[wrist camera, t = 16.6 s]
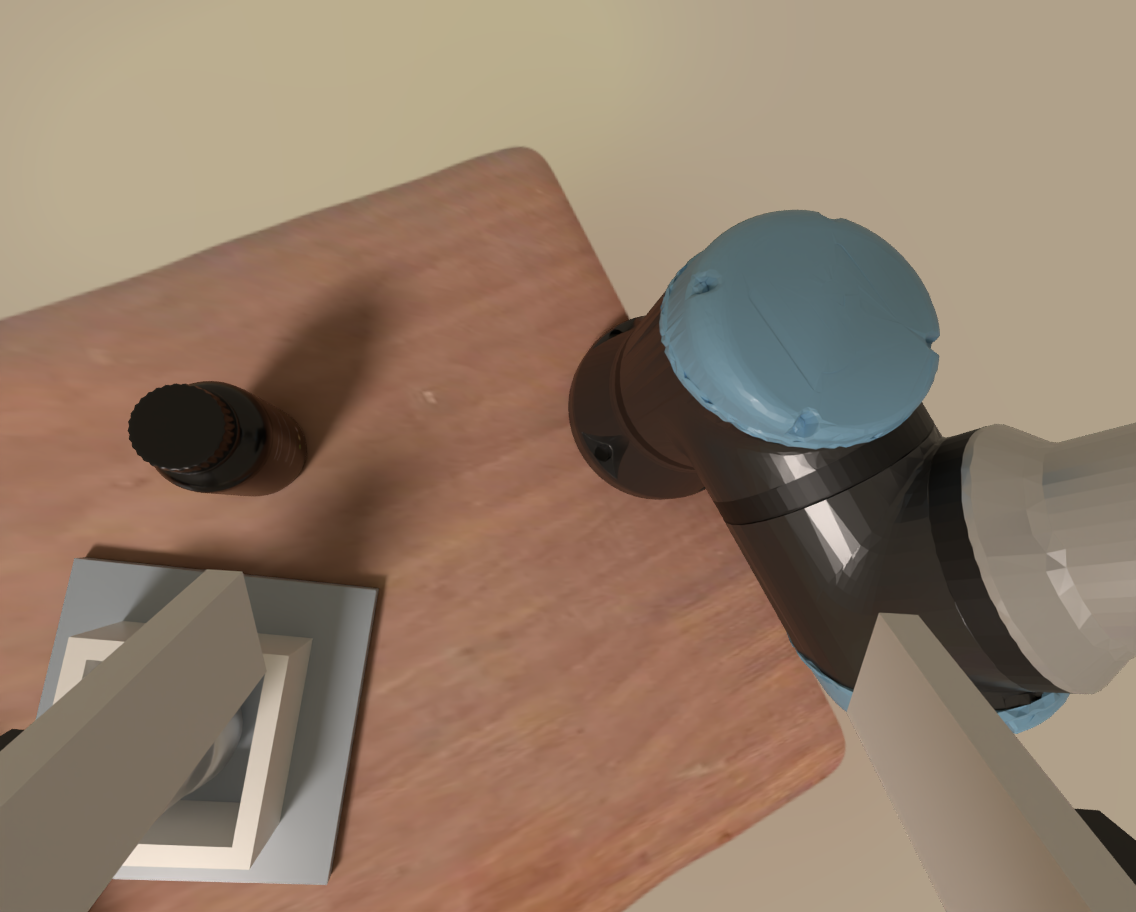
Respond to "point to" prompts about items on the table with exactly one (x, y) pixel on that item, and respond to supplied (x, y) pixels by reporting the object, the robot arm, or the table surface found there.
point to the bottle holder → (270, 721)
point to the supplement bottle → (217, 439)
